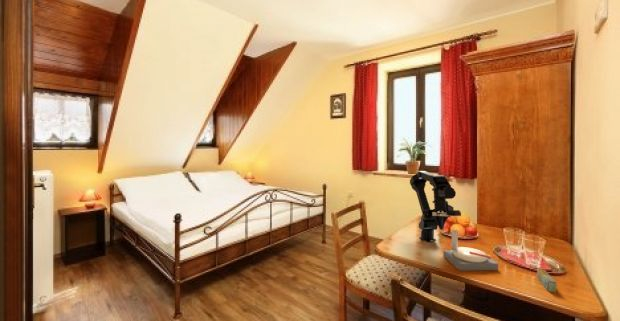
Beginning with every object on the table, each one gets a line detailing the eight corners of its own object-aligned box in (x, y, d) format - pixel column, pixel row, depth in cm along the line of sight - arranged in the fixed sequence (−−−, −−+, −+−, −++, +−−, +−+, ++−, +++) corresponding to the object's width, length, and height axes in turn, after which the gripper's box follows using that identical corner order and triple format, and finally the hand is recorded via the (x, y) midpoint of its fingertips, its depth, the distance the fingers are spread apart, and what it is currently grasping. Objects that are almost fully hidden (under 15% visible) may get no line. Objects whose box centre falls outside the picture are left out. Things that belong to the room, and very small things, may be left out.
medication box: (556, 293, 106) (557, 283, 106) (547, 291, 107) (548, 281, 107) (543, 278, 117) (544, 269, 117) (535, 277, 118) (536, 267, 118)
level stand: (477, 255, 139) (478, 247, 139) (498, 270, 124) (498, 260, 124) (443, 256, 139) (443, 247, 139) (459, 270, 124) (460, 261, 124)
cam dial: (492, 255, 131) (493, 233, 130) (488, 266, 120) (489, 242, 120) (454, 247, 142) (455, 226, 141) (447, 256, 131) (448, 234, 130)
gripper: (466, 199, 143) (468, 230, 141) (433, 199, 159) (435, 227, 157) (453, 198, 138) (455, 231, 135) (420, 199, 153) (422, 228, 151)
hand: (441, 229), depth 145 cm, fingers closed
